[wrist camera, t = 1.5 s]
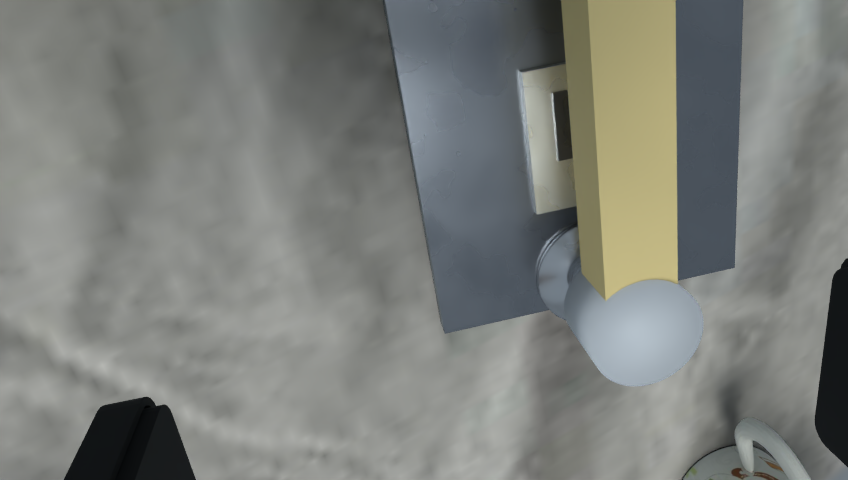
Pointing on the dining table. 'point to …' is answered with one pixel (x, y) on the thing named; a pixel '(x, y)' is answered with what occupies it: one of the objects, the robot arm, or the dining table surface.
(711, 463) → the mug
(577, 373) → the dining table surface
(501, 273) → the chassis
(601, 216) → the swing arm
